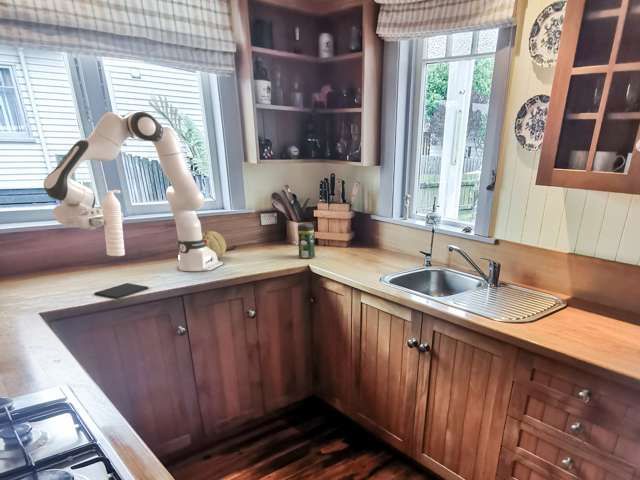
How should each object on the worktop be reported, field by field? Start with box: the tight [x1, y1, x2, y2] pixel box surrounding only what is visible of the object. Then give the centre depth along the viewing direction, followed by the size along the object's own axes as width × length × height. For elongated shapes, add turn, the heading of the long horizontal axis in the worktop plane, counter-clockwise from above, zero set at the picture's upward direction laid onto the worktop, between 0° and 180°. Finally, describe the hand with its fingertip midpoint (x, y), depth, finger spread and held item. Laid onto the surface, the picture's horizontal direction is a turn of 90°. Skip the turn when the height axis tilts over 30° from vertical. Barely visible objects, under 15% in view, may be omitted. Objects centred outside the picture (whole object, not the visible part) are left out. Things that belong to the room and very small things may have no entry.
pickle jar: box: [297, 222, 316, 260], centre depth 257 cm, size 10×8×19 cm
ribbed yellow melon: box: [202, 230, 227, 259], centre depth 247 cm, size 15×15×15 cm
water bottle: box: [101, 189, 126, 257], centre depth 186 cm, size 9×6×25 cm
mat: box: [94, 282, 149, 299], centre depth 194 cm, size 16×12×1 cm
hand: (112, 221), depth 185 cm, fingers closed on water bottle, 6 cm apart
